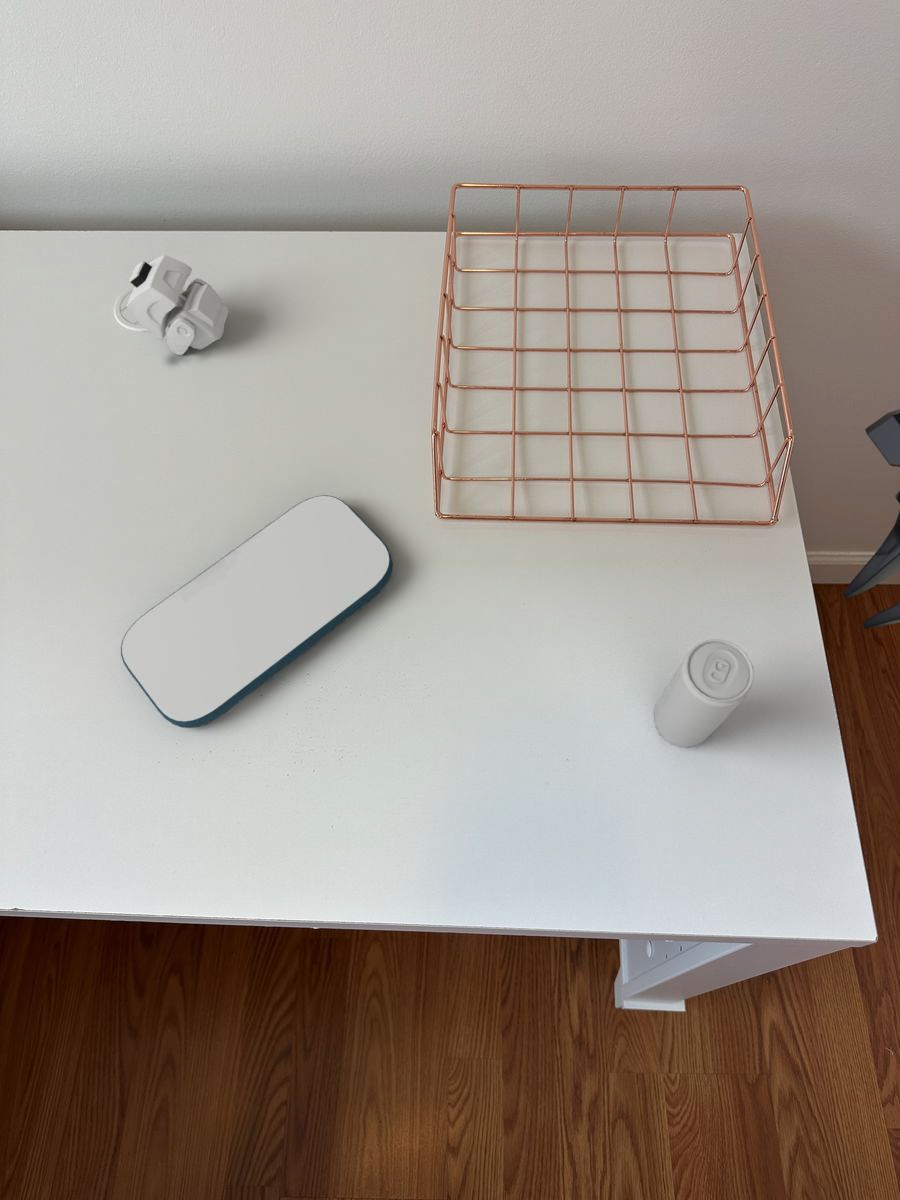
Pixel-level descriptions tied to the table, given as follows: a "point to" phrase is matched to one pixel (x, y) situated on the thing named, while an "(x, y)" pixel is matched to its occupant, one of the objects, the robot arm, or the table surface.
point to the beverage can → (703, 692)
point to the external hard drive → (255, 610)
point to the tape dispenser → (176, 305)
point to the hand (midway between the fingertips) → (854, 611)
